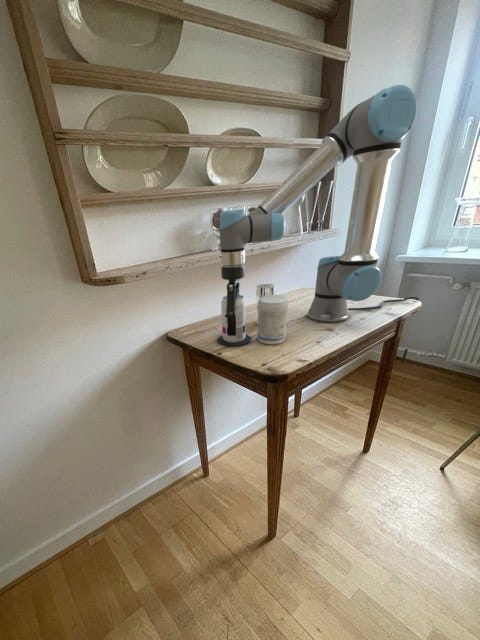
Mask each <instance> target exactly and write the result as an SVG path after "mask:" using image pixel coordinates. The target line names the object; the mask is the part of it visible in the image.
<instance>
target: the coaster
mask: <svg viewBox="0 0 480 640" xmlns="http://www.w3.org/2000/svg"><path fill="white" fill-rule="evenodd" d="M251 340H252V339H251V336H250V335H248V334H247V333H245V338H244V339H243V340H242V341H240V342H235V343H231V342H226V341H225V340H224V339H223V337H222V335H220V336H219V337H218V338H217V343H218V344H219V345H221V346H224V347H241V346H245V345H248V344H249V343H250V342H251Z"/></svg>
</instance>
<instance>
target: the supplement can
mask: <svg viewBox="0 0 480 640" xmlns="http://www.w3.org/2000/svg"><path fill="white" fill-rule="evenodd" d="M220 307H221V333H222V334H221V336H222V337H223V339H224V340H225V341H226V342H231V343H235V342H240V341H242V340H243V339H244V338H245V334H246V299H245V297H244V295H241V294H239V295H238V297H237V298H236V310H235V315H236V336H228V322H227V317H225V315H226V314H227V295H224V296H223V297H222V300H221V302H220Z"/></svg>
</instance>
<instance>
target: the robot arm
mask: <svg viewBox="0 0 480 640" xmlns="http://www.w3.org/2000/svg"><path fill="white" fill-rule="evenodd" d="M418 111H419V103H418V98H417V95H416V94H415V93H414V92H413V89H412V88H411V87H409V86H408V85H405V84H395V85H391V86H389V87H388V88H387V87H386V88H382V90H380V91H379V92H377V93H376V94H374V95H373V96H371V97H369V98H367V99H365V100H364V101H361V102H360V103H358V104H357V105H355V106H354V107H353V108H352V109H350V110H349V112H347V113H346V115H345V116H344V117H342V119H341V120H340V121H339V122H338V123H337V124H336V125H335V126H334V127H333V128H332V129H331V130H330V131H329V132H328V133H327V135H325V136H324V137H323V139H322V141H321V144H320V146H319V147H318V148H317V149H316V150H315V151H314V152H313V153H311V155H310V156H308V158H307V159H305V161H303V162H302V163H301V164H300V166H298V167H297V168H296V169H295V170H294V171H293V172H292V173H291V174H290V175H289V176H288V177H287V178H286V179H285V180H284V181H282V183H281V184H280V185H279V186H277V188H276V189H274V191H273V192H271V193H270V194H269V195H268V196H267V197H266V198H265V199H264V200H263V201H262V202H261V203H260V204H259V205H258V206H257V207H256V208H254V210H253V211H252V212H250V213H249V214H247V215H246V212H245V211H246V210H244V209H232V210H223V211H222V212H221V213H220V215H219V227H218V229H219V243H220V254H219V255H218V258H219V259H220V264H221V268H220V270H221V271H220V273H221V274H220V275H221V279H222V280H226V281H228V283H227V284H226V296H227V314H226V315H225V317H227V322H228V336H236V315H235V310H236V298H237V297H238V295H240V286H241V285H240V282H239V281H240V280H241V279H244V278H245V277H246V276H245V275H246V274H245V273H246V272H245V271H246V269H245V268H246V266H245V265H244V264H245V263H246V249H245V247H246V244H247V245H248V244H254V243H255V244H256V243H265V242H275V241H280V240H281V239H283V238H284V235H285V230H286V218H285V216H284V215H285V213H286V212H287V211H288V210H290V208H291V207H293V206H294V205H295V204H296V203H297V202H298V201H299V200H300V199H301V198H302V197H303V196H305V195H306V194H307V193H308V192H309V191H310V190H311V189H312V188H313V187H314V186H315V185H316V184H318V183H319V182H320V181H321V179H323V178H324V177H325V176H326V175H327V174H328V173H329V172H331V170H333V169H334V168H335V167H340V166H341V165H343V164H344V163H345V162H346V161H347V160H349V159H351V158H352V159H353V160H354V162H355V163H356V171H355V178H354V186H353V191H352V199H351V204H350V211H349V212H350V213H349V219H348V226H347V233H346V238H345V246H344V252H343V254H341V255H333V256H324V257H321V258H320V259H319V261H318V265H317V270H316V279H315V291H314V298H313V300H312V302H311V304H310V308H309V309H308V311H307V318H308V319H309V320H312V321H316V322H320V323H339V322H343V321H346V320H348V319H349V315H350V311H365V310H366V311H367V310H377V309H380V308H382V307H383V305H384V304H386V303H398V302H405V301H408V300H411V299H414V300H416V301H419V300H420V299H419V297H418V296H416V295H412V296H407V297H405V298H399V299H385V300H381V302H380V303H379V305H377V306H366V307H364V306H363V307H349V306H348V301H351V302H362V301H365V300H367V299H369V298H371V296H372V295H374V294H375V293H376V292H377V291H378V289H379V287H380V286H381V283H382V281H383V275H382V272H381V271H380V269H379V267H377V265H378V260H379V256H378V254H377V253H376V252H375V249H376V244H377V238H378V235H379V234H378V233H379V228H380V222H381V218H382V213H383V208H384V203H385V196H386V192H387V188H388V187H387V186H388V181H389V176H390V172H391V165H392V161H393V159H394V158H395V156H396V155H397V154H398V153H399V152H400V151H401V147H402V142H403V138H404V137H405V136H406V135H408V133H409V131H410V130H411V129H413V127H414V125H415V123H416V120H417V117H418ZM402 299H403V300H402ZM408 350H409V348H406V349H404V352H403V356H402V359H401V363H400V364H401V365H404V364H405V359H406V356H407V353H408Z"/></svg>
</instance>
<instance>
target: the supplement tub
mask: <svg viewBox="0 0 480 640" xmlns="http://www.w3.org/2000/svg"><path fill="white" fill-rule="evenodd" d="M288 300H289V298H288V297H287V296H285V295H282V294H281V295H280V294H274V295H268V296H263V297H261V298H260V299H259V303H258V312H257V318H258V325H257V341H258V342H260V343H261V344H265V345H278V344H281V343H283V342H284V341H285V340H286V335H287V334H286V332H287V320H288V305H289V302H288Z"/></svg>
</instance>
